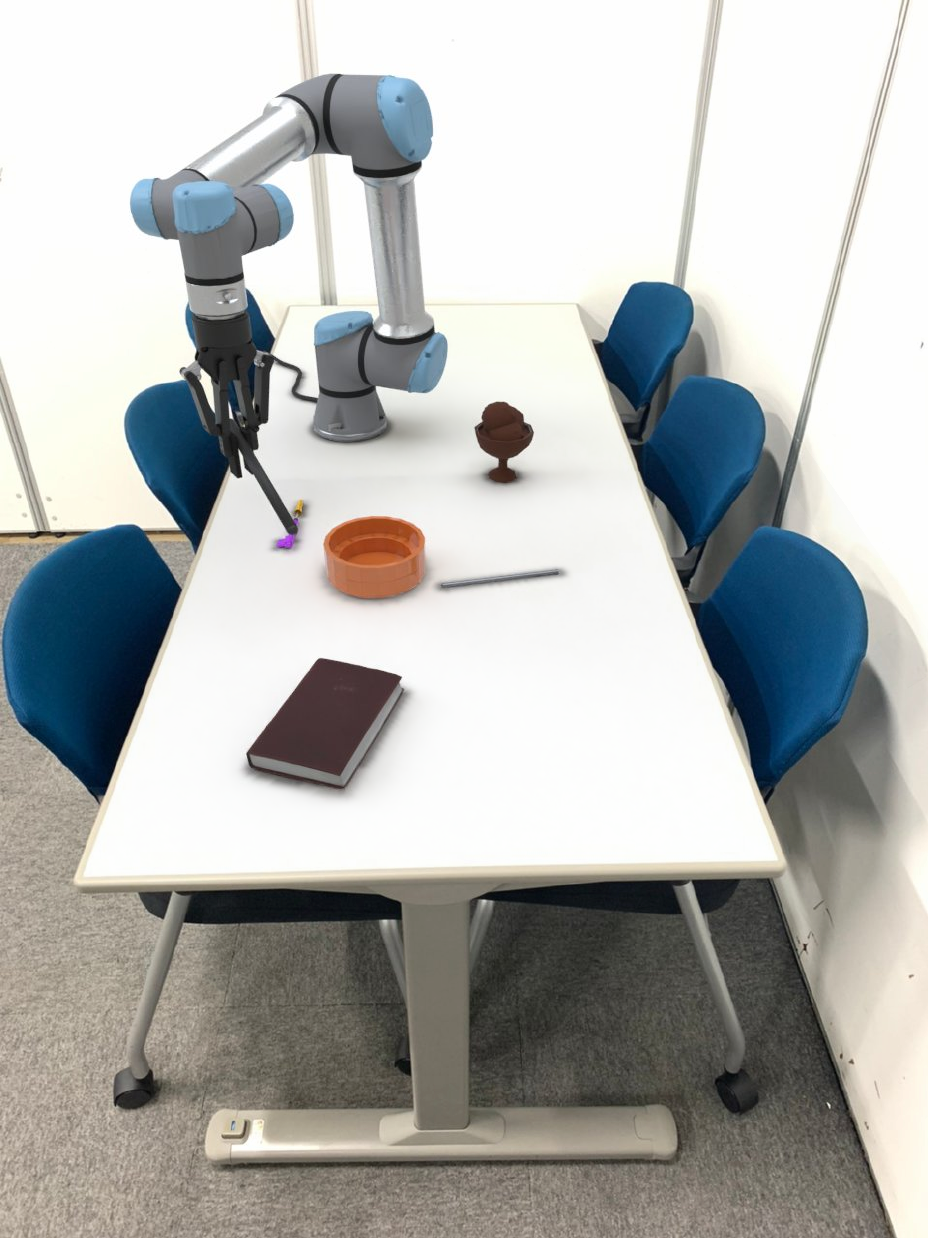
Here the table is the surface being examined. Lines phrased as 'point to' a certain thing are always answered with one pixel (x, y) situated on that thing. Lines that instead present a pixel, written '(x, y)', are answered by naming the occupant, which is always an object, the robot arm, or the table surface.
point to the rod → (499, 578)
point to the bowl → (375, 556)
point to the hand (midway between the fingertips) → (243, 472)
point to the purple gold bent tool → (290, 538)
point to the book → (327, 723)
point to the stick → (263, 480)
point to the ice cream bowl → (503, 437)
